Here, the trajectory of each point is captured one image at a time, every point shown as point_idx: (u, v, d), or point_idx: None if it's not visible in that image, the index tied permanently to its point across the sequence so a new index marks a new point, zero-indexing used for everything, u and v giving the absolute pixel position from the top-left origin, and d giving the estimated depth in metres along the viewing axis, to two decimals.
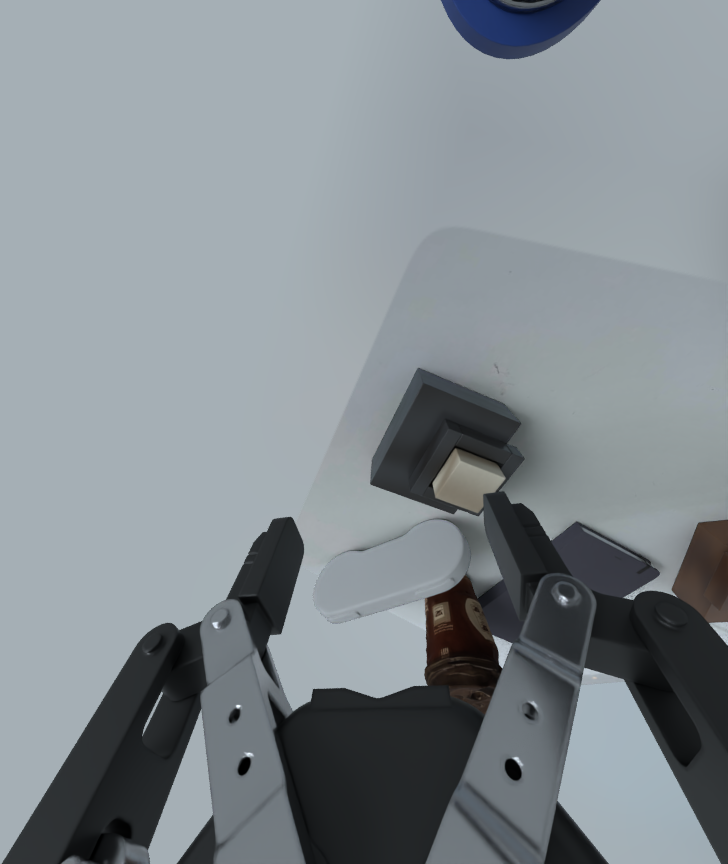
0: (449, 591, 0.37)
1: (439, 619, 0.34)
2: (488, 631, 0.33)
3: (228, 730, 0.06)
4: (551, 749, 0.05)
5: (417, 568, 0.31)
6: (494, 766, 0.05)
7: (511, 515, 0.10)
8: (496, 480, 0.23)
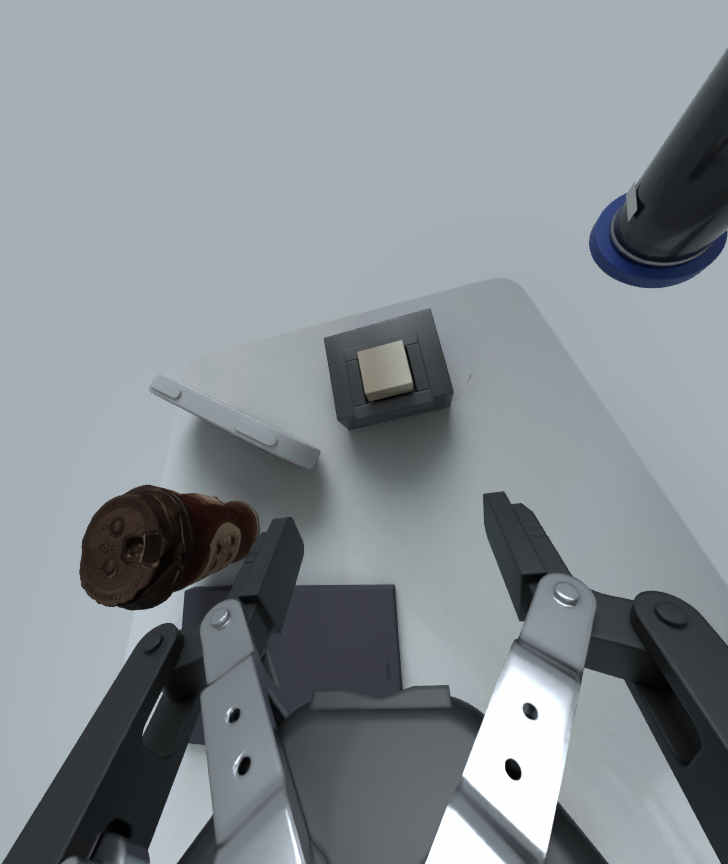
0: (235, 511, 0.30)
1: (203, 497, 0.27)
2: (217, 554, 0.25)
3: (228, 730, 0.06)
4: (552, 749, 0.05)
5: None
6: (494, 766, 0.05)
7: (511, 515, 0.10)
8: (406, 377, 0.25)
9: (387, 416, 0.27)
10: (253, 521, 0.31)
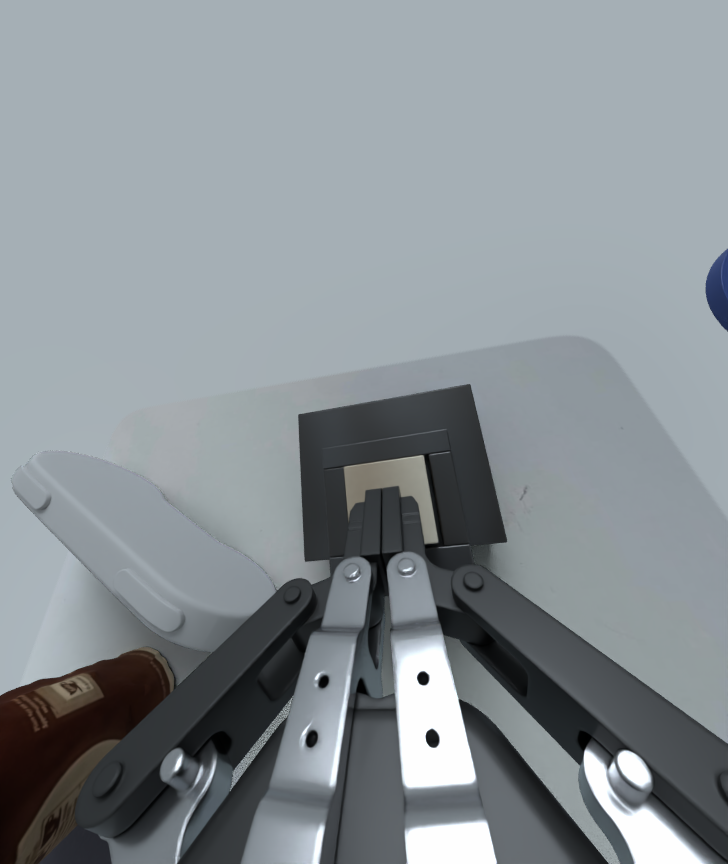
0: (127, 694, 0.18)
1: (55, 694, 0.15)
2: (42, 845, 0.13)
3: (314, 690, 0.06)
4: (446, 694, 0.06)
5: (177, 559, 0.17)
6: (420, 751, 0.05)
7: (395, 505, 0.12)
8: (427, 530, 0.13)
9: None
10: (163, 697, 0.20)
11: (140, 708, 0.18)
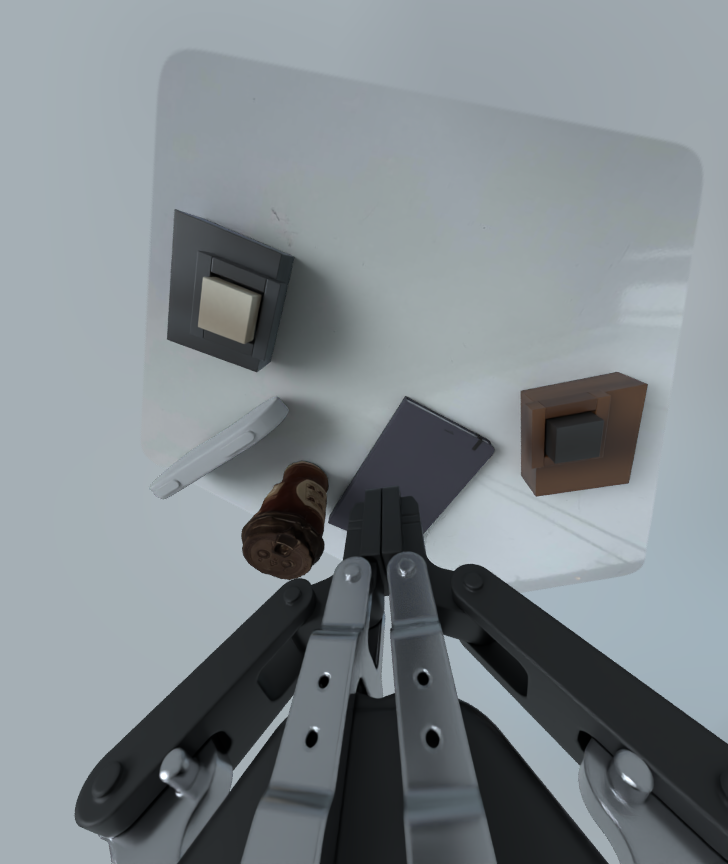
0: (292, 476, 0.37)
1: (270, 494, 0.34)
2: (314, 502, 0.34)
3: (314, 690, 0.06)
4: (447, 694, 0.06)
5: (230, 432, 0.32)
6: (420, 750, 0.05)
7: (395, 505, 0.12)
8: (245, 298, 0.24)
9: (274, 331, 0.28)
10: (306, 466, 0.39)
11: (303, 474, 0.38)
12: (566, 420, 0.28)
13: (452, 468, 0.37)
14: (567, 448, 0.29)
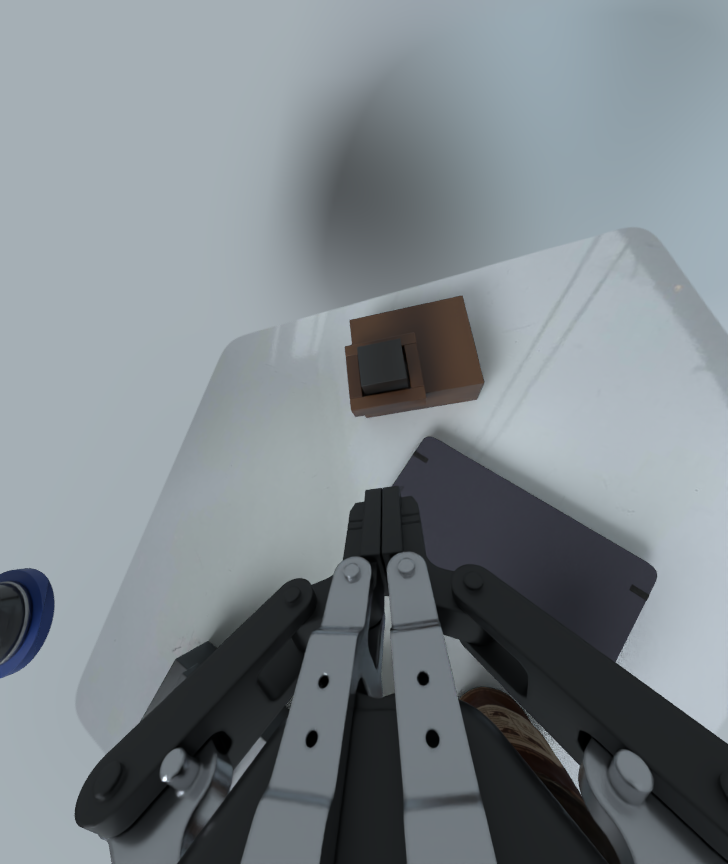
0: None
1: None
2: None
3: (314, 690, 0.06)
4: (447, 694, 0.06)
5: None
6: (420, 751, 0.05)
7: (395, 505, 0.12)
8: None
9: None
10: None
11: None
12: None
13: (455, 485, 0.28)
14: (386, 371, 0.26)
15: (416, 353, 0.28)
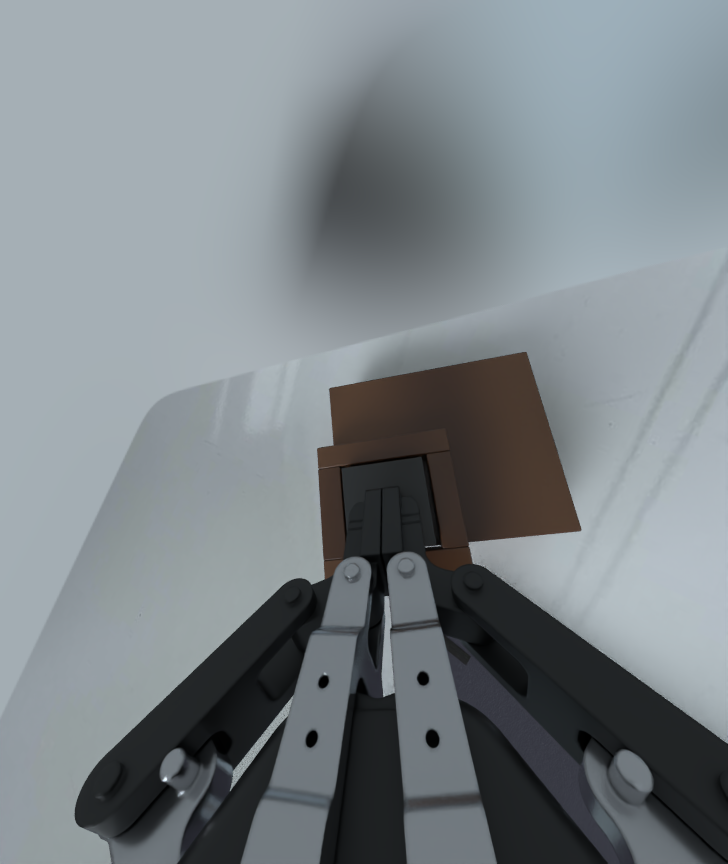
0: None
1: None
2: None
3: (314, 690, 0.06)
4: (446, 694, 0.06)
5: None
6: (420, 751, 0.05)
7: (395, 505, 0.12)
8: None
9: None
10: None
11: None
12: None
13: (524, 722, 0.15)
14: None
15: (451, 473, 0.15)
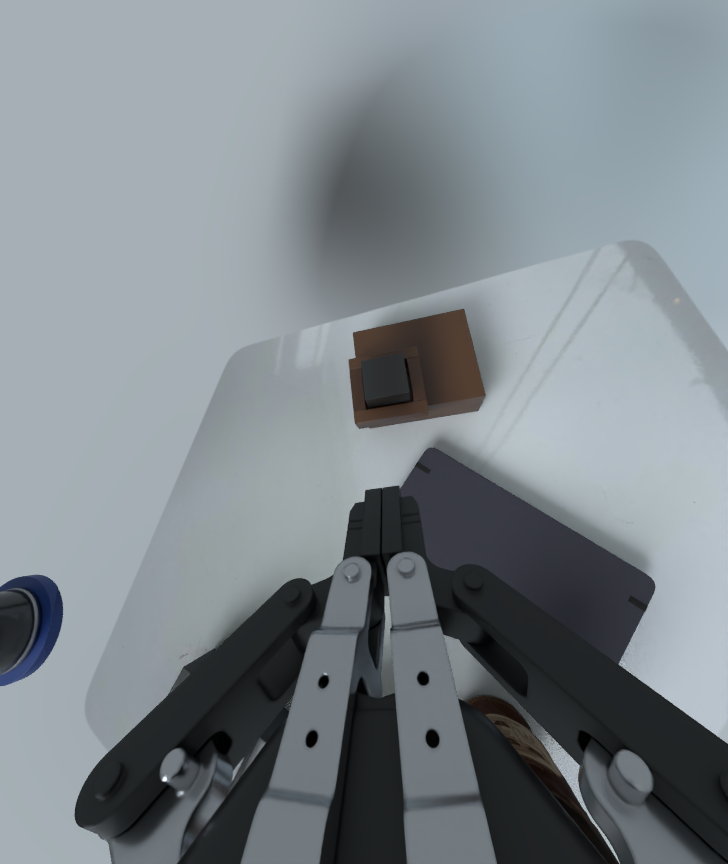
0: None
1: None
2: None
3: (314, 690, 0.06)
4: (447, 694, 0.06)
5: None
6: (420, 751, 0.05)
7: (395, 505, 0.12)
8: None
9: None
10: None
11: None
12: None
13: (457, 496, 0.29)
14: (389, 385, 0.27)
15: (418, 367, 0.29)
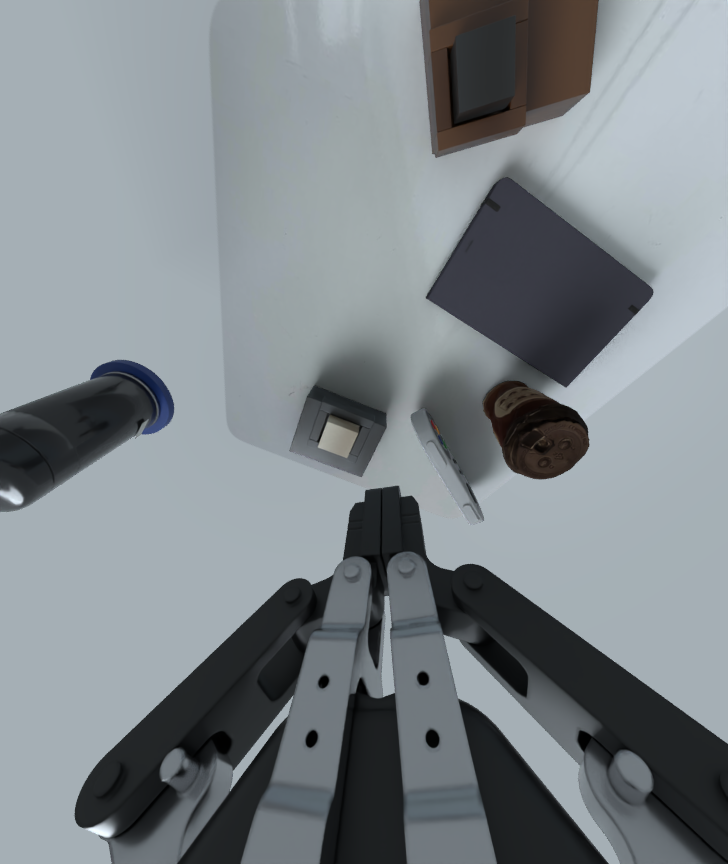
0: (490, 415, 0.39)
1: (498, 440, 0.37)
2: (512, 403, 0.34)
3: (314, 690, 0.06)
4: (447, 694, 0.06)
5: None
6: (420, 751, 0.05)
7: (395, 505, 0.12)
8: (329, 426, 0.36)
9: (355, 409, 0.38)
10: (487, 399, 0.40)
11: (493, 405, 0.39)
12: (455, 95, 0.23)
13: (521, 234, 0.31)
14: (491, 83, 0.22)
15: (525, 42, 0.22)
